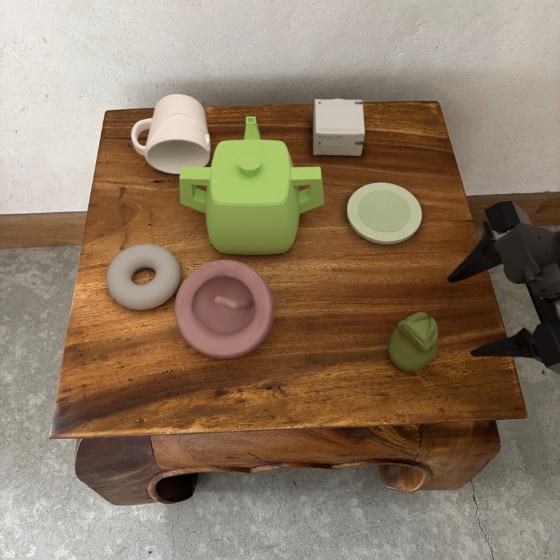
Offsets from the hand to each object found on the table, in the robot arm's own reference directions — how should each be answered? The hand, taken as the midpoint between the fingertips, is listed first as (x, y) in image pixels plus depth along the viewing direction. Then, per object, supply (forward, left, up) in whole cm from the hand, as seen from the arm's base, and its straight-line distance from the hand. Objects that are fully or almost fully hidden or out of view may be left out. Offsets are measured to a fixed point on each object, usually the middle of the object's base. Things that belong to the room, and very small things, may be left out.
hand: (460, 316), depth 61 cm
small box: (+18, -35, -11) cm, 41 cm away
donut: (+40, -3, -11) cm, 41 cm away
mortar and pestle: (+27, +2, -11) cm, 29 cm away
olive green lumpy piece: (+4, +1, -11) cm, 12 cm away
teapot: (+28, -18, -11) cm, 35 cm away
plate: (+9, -21, -11) cm, 25 cm away
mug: (+43, -27, -11) cm, 52 cm away
